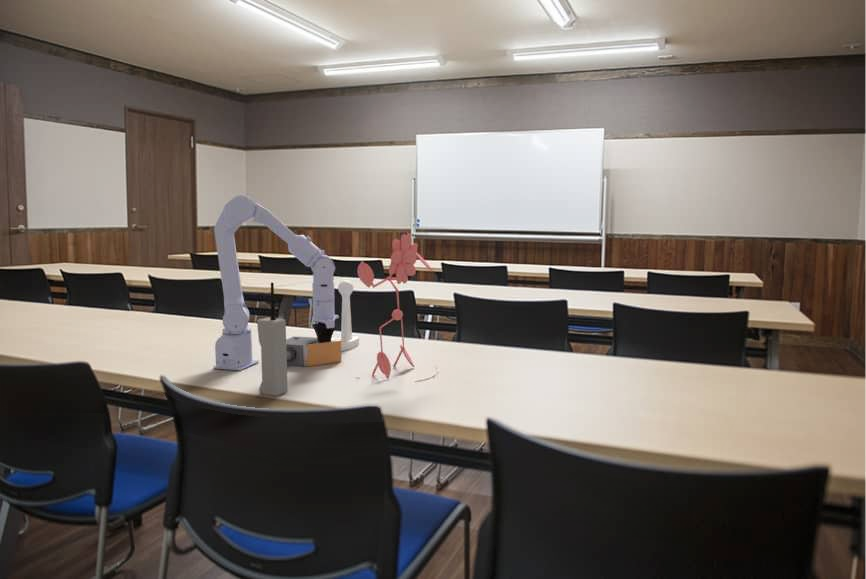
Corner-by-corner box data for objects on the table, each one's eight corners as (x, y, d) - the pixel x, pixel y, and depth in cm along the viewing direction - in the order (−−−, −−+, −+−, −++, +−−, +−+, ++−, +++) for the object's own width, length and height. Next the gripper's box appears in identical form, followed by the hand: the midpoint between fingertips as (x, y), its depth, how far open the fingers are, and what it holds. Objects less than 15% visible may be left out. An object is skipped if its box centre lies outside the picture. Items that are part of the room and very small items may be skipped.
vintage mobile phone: (270, 389, 146) (267, 280, 143) (287, 392, 144) (284, 281, 141) (259, 393, 143) (255, 282, 140) (276, 397, 141) (273, 283, 138)
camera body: (301, 367, 166) (301, 344, 166) (273, 365, 169) (273, 342, 168) (321, 357, 177) (320, 336, 176) (294, 355, 180) (294, 334, 179)
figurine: (348, 381, 153) (349, 234, 148) (408, 360, 175) (411, 231, 170) (401, 392, 145) (404, 237, 140) (457, 368, 167) (461, 233, 162)
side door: (304, 366, 167) (304, 345, 166) (303, 366, 167) (302, 345, 167) (341, 361, 172) (341, 341, 172) (339, 360, 173) (339, 340, 172)
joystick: (343, 352, 184) (342, 282, 182) (320, 349, 187) (319, 281, 184) (362, 344, 194) (361, 278, 192) (341, 342, 197) (340, 277, 195)
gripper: (345, 303, 167) (346, 354, 168) (331, 295, 180) (332, 343, 182) (318, 304, 164) (319, 356, 166) (306, 297, 177) (307, 345, 179)
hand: (324, 350), depth 173 cm, fingers closed
